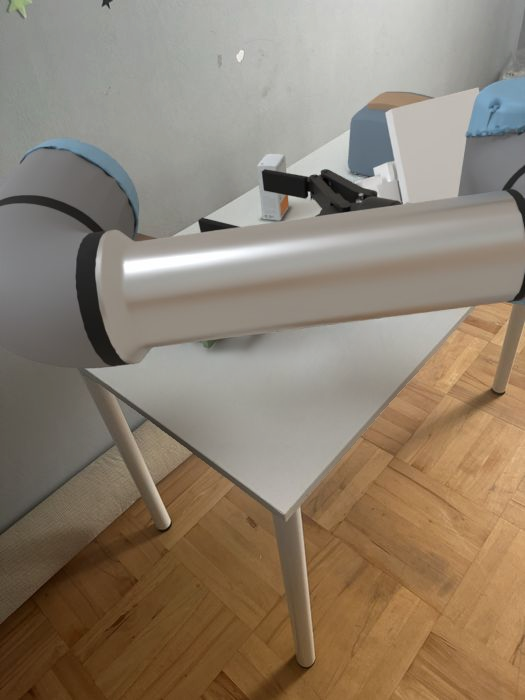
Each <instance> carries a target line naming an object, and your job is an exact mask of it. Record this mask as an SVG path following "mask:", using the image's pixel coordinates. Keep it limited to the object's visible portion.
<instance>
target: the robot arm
mask: <svg viewBox="0 0 525 700" xmlns="http://www.w3.org/2000/svg"><path fill="white" fill-rule="evenodd" d="M465 137H467V138H466V145H465V151H464V158H463V165H462V172H461V178H460V185H459V192H458V197H452V198H445V199H438V200H431V201H424V202H416V203H408V202H407V203H405V204H403V203H402V202H401V203H400V202H399V201H397V200H391V199H386V198H380V197H377V191H374V190H370V189H366V188H362V187H360V186H358V185H357V184H355V183H354V182H353V181H351V180H349V179H347V178H346V177H343V176H341V175H340V174H338V173H336V172H335V171H332V170H331V169H329V168H328V169H327V168H324V169H321V170H320V174H314V173H313V174H311V175H309V176H307V175H301V174H295V173H290V172H286V173H284V172H278V171H272V170H266V169H264V170H263V171H262V179H263V187H264V191H268V192H273V193H278V194H283V195H288V197H293V198H300V199H305V200H306V199H307V198H308V197H309V195H310V198H309V199H310V201H312V200H313V201H315V202H316V204H317V205H318V206H319V207H320V211H319V213H317V214H316V215H314V216H310V217H303V218H302V217H301V218H297V219H296V218H295V219H288V220H280V221H274V222H267V223H266V222H265V223H260V224H259V223H258V224H253V225H245V226H238V225H234V224H232V223H231V224H230V223H227V222H222V221H219V220H214V219H211V218H206V217H201V218H199V219H198V220H197V223H198V226H199V232H194V233H188V234H182V235H174V236H166V237H160V238H158V239H151V240H144V241H137V242H135V241H133V240H134V238H135V236H136V234H137V233H138V230H139V216H140V200H139V196H138V191H137V189H136V187H135V184H134V182H133V180H132V178H131V177H130V175H129V174H128V172H127V171H126V169H125V168H124V167H123V166H122V165H121V163H120V162H118V161H117V160H116V159H115V158H114V157H113V156H111V155H110V154H109V153H108V152H106V151H104V150H103V149H102V148H99V147H98V146H95V145H94V144H90V143H87V142H85V141H80V140H79V139H76V138H68V137H67V138H65V137H64V138H52V139H49V140H45V141H43V142H41V143H39V144H38V145H36V146H34V147H31V149H29V150H27V151H26V152H25V153H24V155H23V156H22V158H21V160H20V161H19V164H18V166H16V167H15V168H14V169H13V170H11V172H9V173H8V174H6V175H5V176H4V177H2V178H1V179H0V347H1V348H3V349H4V350H6V351H9V352H11V353H12V354H15V355H17V356H18V357H21V358H24V359H27V360H29V361H31V362H35V363H40V364H44V365H48V366H55V367H59V368H68V369H69V368H71V369H104V368H113V367H114V368H115V367H118V366H119V367H121V366H128V365H135V364H140V363H141V362H142V361H143V360H145V358H146V356H147V355H148V354H149V353H150V351H151V350H152V349H153V348H159V347H167V346H173V345H181V344H190V343H199V342H202V341H206V340H214V339H219V340H222V339H229V338H236V337H245V336H252V335H253V336H254V335H260V334H261V335H262V334H268V333H276V332H282V331H283V332H284V331H292V330H298V329H299V330H300V329H307V328H308V329H309V328H314V327H322V326H330V325H339V324H345V323H354V322H361V321H363V322H364V321H370V320H377V319H386V318H391V317H392V318H393V317H402V316H408V315H409V316H410V315H417V314H424V313H432V312H440V311H448V310H455V309H464V308H472V307H480V306H488V305H495V304H503V303H507V304H512V305H519V306H525V76H522V77H511V78H505V79H501V80H498V81H495V82H493V83H490V84H489V85H487V86H485V87H483V88H482V89H481V90H480V91H479V94H478V95H477V97H476V99H475V102H474V106H473V110H472V114H471V118H470V123H469V127H468V131H467V132H466V135H465Z"/></svg>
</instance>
